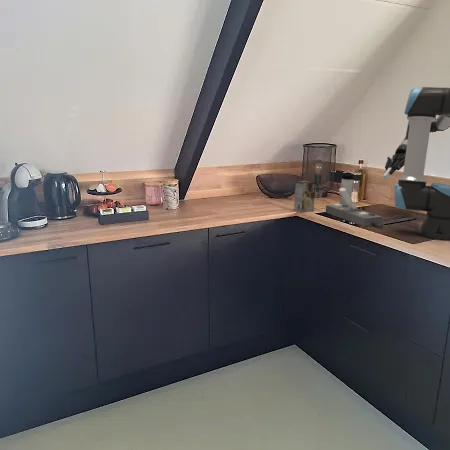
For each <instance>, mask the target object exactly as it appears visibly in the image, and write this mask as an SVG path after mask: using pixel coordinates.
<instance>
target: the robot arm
mask: <svg viewBox="0 0 450 450" xmlns="http://www.w3.org/2000/svg"><path fill="white" fill-rule="evenodd" d="M403 113H404V115H407V116H406V119H407V120H408V121H407V128H406V132H405V137H404V139H403V140H402V141H401V142H400V143H399V145H398V147H396V149H395V152H394V154H393V155H392V156H391V157H390V156H387V158H386V159H387V160H386V162H385V165H384V169H385V171H384V174H383V178H384V180H386V181H387V180H389V179H390V177H391V176H393V174H394V172H396V171H400V170H401V169H402V168H403V172H402V176H401V177H400V178H398V182H395V183H394V189H393V190H394V191H393V192H394V197H393V198H394V206H395V208H396V209H398V210H399V209H400V210H405V211H417V212H426V217H425V218H424V220H423V222H422V224H421V226H420V228H419V234H420V235H421V236H423V237H426V238H430V239H432V240H433V239H434V240H440V239H443V240H442V241H450V185H449V184H445V183H440V182H431V184H430V185H427V180H426V179H425V177H424V175H425V168H426V161H427V154H428V147H429V141H430V140H429V139H430V133H431V132H432V133H433V132H436V131H444V130H446V129H448V128H449V127H450V87H433V86H432V87H431V86H427V87H426V86H422V87H421V86H419V87H413V88H411V89H410V91H409V95H408V98H407V100H406V104H405V109H404V112H403ZM436 118H437V119H436Z"/></svg>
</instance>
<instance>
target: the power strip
mask: <svg viewBox="0 0 450 450" xmlns="http://www.w3.org/2000/svg"><path fill="white" fill-rule="evenodd" d="M325 206H326V207H325V213H326V214H329V215H332V216H333V217H334V216H335V217H336V218H337V217H338V218H340V219H342V220H345V221H348V222H350V223H354V224H355V225H358V224H359V226H361V225H362V226H361V227H370V226H374V227H378V228H381V229H382V228H384V226H383V225H382V221H383V216H381V215H377V214H376V213H373V212H372V213H371V212H368V211H365V210H363V209H361V208H357V210H356V211H354V210H351V209H349V207H348V205H344V204H339V203H333V204H326V205H325Z"/></svg>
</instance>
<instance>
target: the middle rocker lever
mask: <svg viewBox="0 0 450 450" xmlns="http://www.w3.org/2000/svg"><path fill="white" fill-rule="evenodd" d="M338 191H339V194H340V193H341V194H342V196H343V198H344V199H345V201H346V203H347V205H348V207H349V209H351V210H354V211H356V210H357V209H358V208H357V206H356V204H355V203H354V201H353V200H352V196H351V197H350V195H349V194H348V191H347V189H345V188H341V187H340V188H339V189H338Z"/></svg>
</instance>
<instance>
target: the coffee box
mask: <svg viewBox="0 0 450 450" xmlns="http://www.w3.org/2000/svg"><path fill="white" fill-rule="evenodd" d="M315 193H316V182H315V181H311V180H299V181H295V189H294V205H293V211H295V212H299V213H307V212H314V208H315V195H316V194H315Z"/></svg>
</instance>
